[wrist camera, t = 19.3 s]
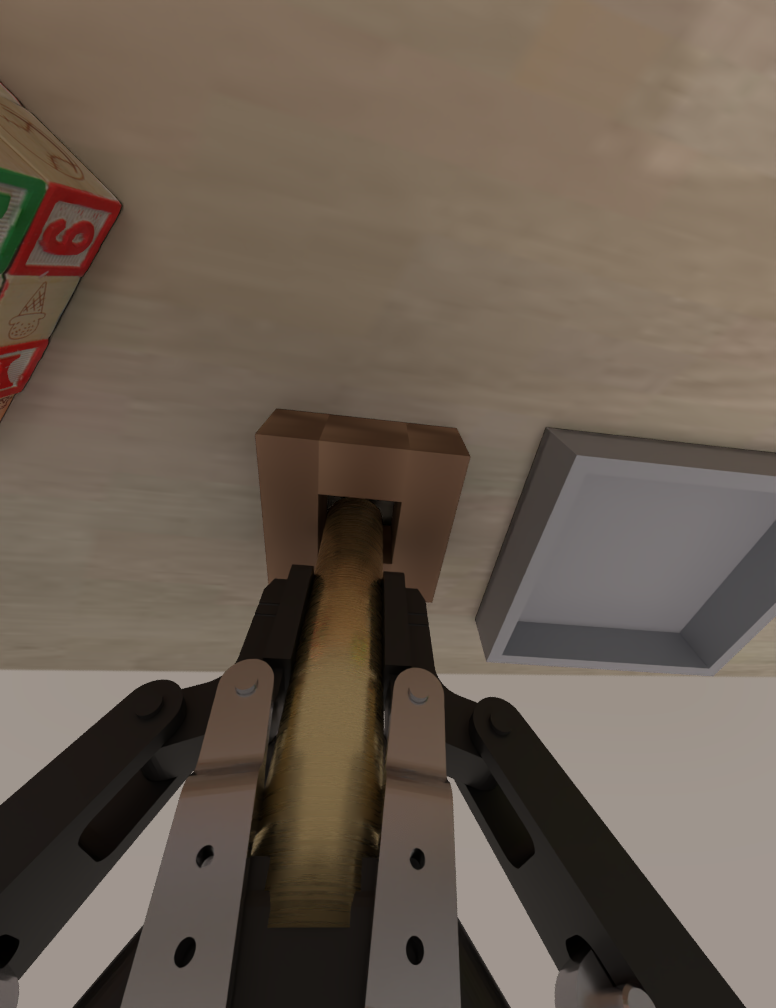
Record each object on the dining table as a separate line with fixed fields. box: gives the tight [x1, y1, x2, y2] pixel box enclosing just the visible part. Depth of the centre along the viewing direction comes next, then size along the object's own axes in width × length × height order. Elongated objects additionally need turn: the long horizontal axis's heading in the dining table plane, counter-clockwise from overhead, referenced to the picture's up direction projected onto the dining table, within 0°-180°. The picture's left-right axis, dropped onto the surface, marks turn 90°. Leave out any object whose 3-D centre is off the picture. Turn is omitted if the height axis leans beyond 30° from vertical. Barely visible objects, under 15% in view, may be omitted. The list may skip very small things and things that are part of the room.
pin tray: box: [475, 427, 776, 676], centre depth 19 cm, size 14×13×3 cm
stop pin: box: [251, 497, 384, 928], centre depth 11 cm, size 2×2×12 cm
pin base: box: [255, 409, 470, 603], centre depth 16 cm, size 8×8×3 cm
